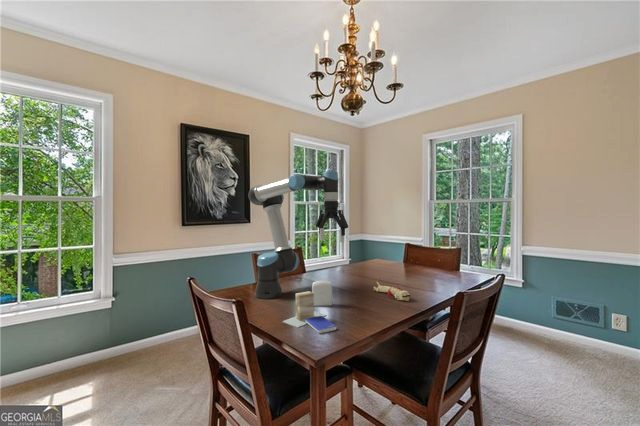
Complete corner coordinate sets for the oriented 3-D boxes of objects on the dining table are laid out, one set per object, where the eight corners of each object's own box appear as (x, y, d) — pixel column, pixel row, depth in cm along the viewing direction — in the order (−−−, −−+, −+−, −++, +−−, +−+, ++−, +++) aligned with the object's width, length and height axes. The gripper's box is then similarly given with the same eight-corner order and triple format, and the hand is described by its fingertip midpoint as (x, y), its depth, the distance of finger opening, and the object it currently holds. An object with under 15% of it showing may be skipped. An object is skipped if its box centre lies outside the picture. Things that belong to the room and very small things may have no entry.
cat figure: (370, 294, 174) (401, 302, 152) (369, 279, 174) (400, 285, 153) (383, 291, 179) (415, 299, 157) (382, 277, 179) (414, 282, 158)
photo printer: (312, 306, 150) (311, 282, 150) (312, 303, 155) (312, 279, 154) (332, 306, 150) (332, 281, 150) (332, 303, 154) (332, 279, 154)
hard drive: (336, 325, 122) (322, 315, 133) (318, 329, 118) (305, 318, 129) (336, 329, 122) (322, 318, 133) (318, 333, 118) (305, 322, 129)
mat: (282, 322, 130) (282, 321, 130) (311, 311, 144) (311, 310, 144) (297, 327, 124) (297, 327, 124) (326, 315, 137) (326, 314, 137)
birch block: (295, 318, 134) (295, 293, 134) (309, 315, 137) (309, 291, 137) (299, 321, 130) (299, 295, 130) (313, 317, 134) (313, 293, 133)
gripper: (354, 200, 151) (355, 242, 152) (318, 201, 168) (319, 238, 169) (345, 200, 146) (346, 243, 146) (309, 201, 163) (309, 240, 163)
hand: (331, 241), depth 158 cm, fingers open, 13 cm apart
